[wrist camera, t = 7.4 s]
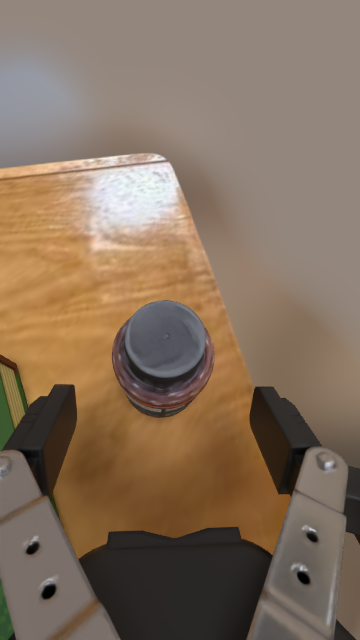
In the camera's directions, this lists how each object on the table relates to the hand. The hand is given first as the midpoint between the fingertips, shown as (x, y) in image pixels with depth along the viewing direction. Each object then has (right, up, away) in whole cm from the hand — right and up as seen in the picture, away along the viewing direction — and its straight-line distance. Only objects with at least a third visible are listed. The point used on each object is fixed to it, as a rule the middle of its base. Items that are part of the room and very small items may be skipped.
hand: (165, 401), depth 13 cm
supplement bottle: (-1, -2, +12) cm, 12 cm away
